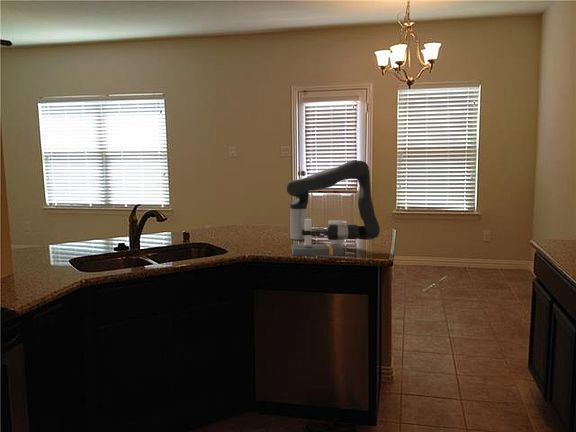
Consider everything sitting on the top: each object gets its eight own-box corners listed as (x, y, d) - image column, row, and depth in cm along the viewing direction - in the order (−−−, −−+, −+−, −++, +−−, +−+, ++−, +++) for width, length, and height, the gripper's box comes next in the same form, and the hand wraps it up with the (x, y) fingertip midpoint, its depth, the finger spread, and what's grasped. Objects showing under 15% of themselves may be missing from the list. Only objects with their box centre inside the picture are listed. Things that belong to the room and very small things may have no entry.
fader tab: (304, 247, 226) (304, 220, 224) (303, 245, 231) (303, 218, 229) (312, 246, 226) (312, 220, 225) (311, 245, 231) (311, 218, 229)
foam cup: (348, 245, 247) (348, 220, 246) (344, 248, 239) (344, 223, 237) (330, 244, 250) (330, 220, 249) (325, 247, 242) (326, 222, 240)
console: (293, 255, 222) (293, 249, 222) (291, 250, 234) (291, 244, 234) (343, 255, 224) (343, 248, 223) (339, 250, 236) (339, 243, 235)
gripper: (335, 222, 235) (300, 222, 234) (339, 226, 221) (303, 226, 220) (335, 237, 236) (300, 237, 235) (339, 242, 222) (303, 242, 221)
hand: (302, 232), depth 227 cm, fingers closed on fader tab, 3 cm apart
